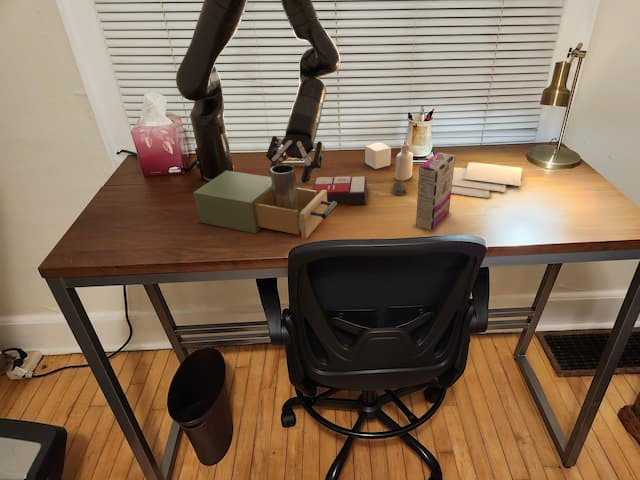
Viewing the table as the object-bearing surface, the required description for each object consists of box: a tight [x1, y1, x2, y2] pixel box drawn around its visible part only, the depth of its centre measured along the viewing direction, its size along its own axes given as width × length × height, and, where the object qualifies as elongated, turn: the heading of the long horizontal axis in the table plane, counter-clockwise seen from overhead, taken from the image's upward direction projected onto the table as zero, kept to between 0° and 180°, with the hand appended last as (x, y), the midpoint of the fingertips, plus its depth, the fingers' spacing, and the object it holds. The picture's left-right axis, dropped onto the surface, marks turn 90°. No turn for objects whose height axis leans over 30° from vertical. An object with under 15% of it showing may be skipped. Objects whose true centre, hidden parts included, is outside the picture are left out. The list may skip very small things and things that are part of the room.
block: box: [392, 180, 407, 196], centre depth 128 cm, size 4×6×2 cm, turn 1°
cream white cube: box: [364, 141, 392, 170], centre depth 143 cm, size 6×6×6 cm
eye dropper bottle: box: [394, 139, 414, 182], centre depth 132 cm, size 4×6×12 cm
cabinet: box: [192, 170, 272, 234], centre depth 115 cm, size 17×15×9 cm
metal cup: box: [269, 163, 299, 218], centre depth 109 cm, size 6×6×13 cm
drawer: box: [253, 187, 338, 239], centre depth 110 cm, size 20×13×7 cm
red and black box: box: [312, 175, 368, 206], centre depth 125 cm, size 11×4×15 cm
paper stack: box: [451, 161, 523, 199], centre depth 134 cm, size 23×25×1 cm
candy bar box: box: [415, 151, 456, 232], centre depth 110 cm, size 11×5×16 cm, turn 148°
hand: (288, 179), depth 109 cm, fingers open, 8 cm apart
